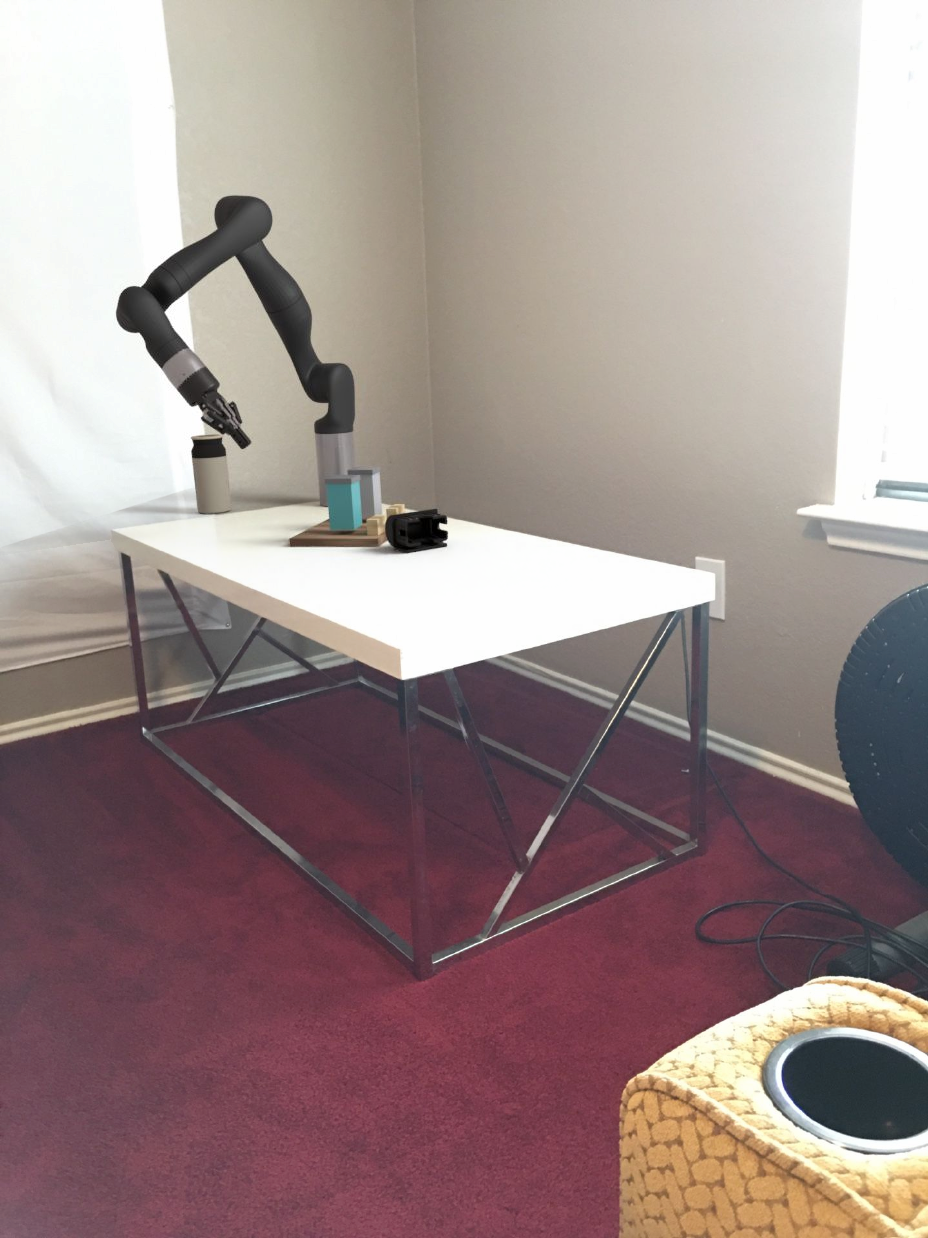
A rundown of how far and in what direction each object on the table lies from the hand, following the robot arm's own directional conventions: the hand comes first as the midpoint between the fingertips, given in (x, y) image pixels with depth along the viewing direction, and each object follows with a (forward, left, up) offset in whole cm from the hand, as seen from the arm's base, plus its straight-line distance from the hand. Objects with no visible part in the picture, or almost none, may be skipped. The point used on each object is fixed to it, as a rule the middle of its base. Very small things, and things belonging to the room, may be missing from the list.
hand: (247, 446), depth 210 cm
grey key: (-8, +22, -16) cm, 28 cm away
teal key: (+5, +21, -16) cm, 27 cm away
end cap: (+12, +38, -19) cm, 44 cm away
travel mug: (-30, -24, -19) cm, 43 cm away
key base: (-2, +21, -18) cm, 28 cm away
